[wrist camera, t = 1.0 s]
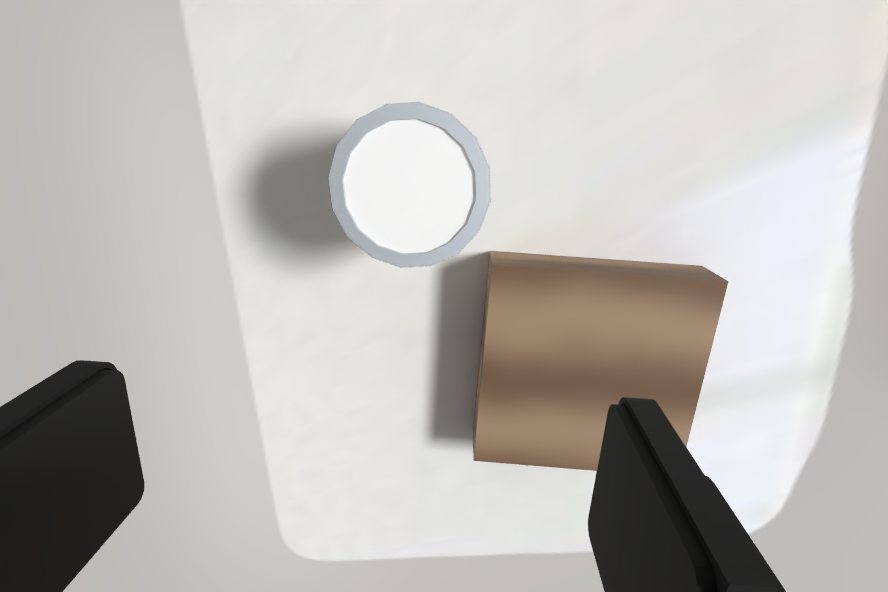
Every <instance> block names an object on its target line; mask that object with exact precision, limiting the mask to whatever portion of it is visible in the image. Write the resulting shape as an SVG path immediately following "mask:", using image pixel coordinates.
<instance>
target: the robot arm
mask: <svg viewBox="0 0 888 592" xmlns="http://www.w3.org/2000/svg"><path fill="white" fill-rule="evenodd" d="M143 492H144V479H143V474H142V468H141V463H140V458H139V453H138V447H137V442H136V437H135V431H134V426H133V421H132V416H131V410H130V405H129V400H128V395H127V389H126V384H125V379H124V376H123V374H122V373H121V372H120V371H118V370H117V369H116V367H115V366H114V365H113V364H111V363H109V362H96V361H75V362H73V363H71V364H69V365H68V366H66V367H64V368H63V369H61V370H59V371H58V372H56V373H55V374H53V375H51V376H50V377H48V378H46V379H45V380H43V381H42V382H40V383H38V384H37V385H35V386H34V387H32V388H30V389H29V390H27V391H26V392H24V393H22V394H21V395H19V396H17V397H16V398H14V399H12V400H11V401H9V402H8V403H6V404H4V405H3V406H1V407H0V592H63V590H64V589H65V588H66V587H67V586H68V585H69V584H70V582H71V581H72V580H73V579H74V578H75V577H76V575H77V574H78V573H79V572H80V571H81V570H82V568H83V567H84V566H85V565H86V563H88V561H89V560H90V559H91V558H92V557H93V556H94V554H95V553H96V552H97V551H98V550H99V549H100V547H101V546H102V545H103V544H104V543H105V542H106V540H107V539H108V538H109V537H110V536H111V535H112V534H113V532H114V531H115V530H116V529H117V528H118V526H119V525H120V524H121V523H122V522H123V521H124V519H125V518H126V517H127V516H128V515H129V514H130V513H131V511H132V510H133V509H134V508H135V507H136V506H137V504H138V503H139V501H140V500H141V498H142V495H143ZM588 531H589V537H590V541H591V545H592V549H593V552H594V556H595V559H596V562H597V566H598V570H599V573H600V577H601V580H602V584H603V588H604V591H605V592H786V591H785V589H784V588H783V586H782V585H781V583H780V582H779V580H778V579H777V577H776V576H775V574H774V573H773V571H772V570H771V568H770V567H769V565H768V564H767V562H766V561H765V559H764V558H763V556H762V555H761V553H760V552H759V550H758V549H757V547H756V546H755V544H754V543H753V541H752V540H751V538H750V537H749V535H748V534H747V532H746V531H745V529H744V528H743V526H742V525H741V523H740V522H739V520H738V519H737V517H736V516H735V514H734V512H733V511H732V509H731V508H730V506H729V505H728V503H727V502H726V500H725V499H724V497H723V496H722V494H721V493H720V491H719V490H718V488H717V487H716V485H715V484H714V483H713V482H712V480H711V479H710V478H709V477H707V476H705V475H704V474H703V472H702V471H701V469H700V468H699V466H698V465H697V463H696V462H695V460H694V459H693V457H692V455H691V454H690V452H689V451H688V449H687V448H686V446H685V445H684V443H683V442H682V440H681V439H680V437H679V436H678V434H677V432H676V431H675V429H674V428H673V426H672V425H671V423H670V422H669V420H668V419H667V417H666V416H665V414H664V412H663V411H662V409H661V408H660V406H659V405H658V403H657V402H656V401H655V400H654V399H643V398H628V397H622V398H621V399H620V401H619V403H618V405H617V404H611V405H610V407H609V409H608V414H607V419H606V425H605V430H604V435H603V441H602V446H601V452H600V457H599V463H598V468H597V473H596V479H595V484H594V490H593V495H592V501H591V506H590V512H589V518H588Z"/></svg>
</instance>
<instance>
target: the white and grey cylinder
mask: <svg viewBox="0 0 888 592" xmlns="http://www.w3.org/2000/svg"><path fill="white" fill-rule="evenodd" d="M328 178H329V186H330V194H331V201H332V209H333V211H334V213H335V215H336V217H337V218H338V220H339V222H340V224H341V226H342V228H343V229H344V231H345V233H346V235H347V237H348V238H349V239H350V240H352V241H353V242H354V243H355V244H356V245H358V246H359V247H360V248H361V249H362V250H363V251H365V252H366V253H367V254H368V255H369V256H371V257H372V258H375V259H378V260H380V261H383V262H386V263H389V264H392V265H395V266H398V267H423V266H432V265H435V264H437V263H439V262H441V261H443V260H445V259H448V258H450V257H452V256H454V255H456V254H458V253H459V252H460V251H461V250H462V249H463V248H464V247H465V246H466V245H467V244H468V243H469V242H470V241H471V240H472V238H473V237H474V236H475V235H476V234H477V233H478V232H479V231H480V228H481V226H482V223H483V220H484V218H485V215H486V212H487V210H488V207H489V204H490V202H491V189H490V167H489V165H488V163H487V160H486V158H485V156H484V154H483V151H482V149H481V147H480V145H479V142H478V140H477V138H476V136H474V135H473V134H472V133H471V132H470V131H469V130H468V129H467V128H466V127H465V126H464V125H463V124H462V123H461V122H460V121H459V120H458V119H457V118H455V117H454V116H453V115H452V114H451V113H448V112H446V111H443V110H440V109H437V108H435V107H432V106H429V105H427V104H424V103H421V102H411V103H396V104H385V105H383V106H382V107H380V108H378V109H376V110H374V111H372V112H370V113H369V114H367V115H365V116H363V117H361V118H359V119H357V120H356V121H355V123H354V124H353V125H352V127H351V128H350V129H349V130H348V132H347V133H346V134H345V136H344V137H343V138H342V139H341V141H340V142H339V143H338V145H337V146H336V150H335V154H334V158H333V162H332V165H331V169H330V173H329V177H328Z"/></svg>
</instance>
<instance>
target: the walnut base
mask: <svg viewBox="0 0 888 592" xmlns="http://www.w3.org/2000/svg"><path fill="white" fill-rule="evenodd" d="M727 284H728V281H727V280H725V279H723V278H722V277H720V276H718V275H716V274H715V273H713V272H711V271H710V270H708V269H706V268H705V267H703V266H695V265H680V264H666V263H652V262H638V261H624V260H610V259H596V258H581V257H567V256H553V255H539V254H525V253H511V252H497V251H490V256H489V267H488V277H487V288H486V299H485V310H484V321H483V331H482V342H481V353H480V364H479V374H478V385H477V396H476V407H475V417H474V428H473V453H474V461H484V462H496V463H509V464H521V465H533V466H545V467H558V468H570V469H582V470H595V471H597V468H598V463H599V457H600V452H601V446H602V441H603V435H604V430H605V425H606V419H607V414H608V409H609V407H610V405H611V404H617V405H618V403H619V401H620V399H621V398H622V397H628V398H643V399H654V400H655V401H656V402H657V403H658V405H659V406H660V408H661V409H662V411H663V412H664V414H665V416H666V417H667V419H668V420H669V422H670V423H671V425H672V426H673V428H674V429H675V431H676V432H677V434H678V436H679V437H680V439H681V440H682V442H683V443H684V445H685V446H687V442H688V438H689V434H690V430H691V426H692V422H693V418H694V414H695V410H696V406H697V402H698V398H699V394H700V391H701V387H702V383H703V379H704V375H705V371H706V367H707V363H708V359H709V355H710V351H711V347H712V343H713V339H714V336H715V332H716V328H717V324H718V320H719V316H720V312H721V308H722V304H723V300H724V296H725V292H726V288H727Z"/></svg>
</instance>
